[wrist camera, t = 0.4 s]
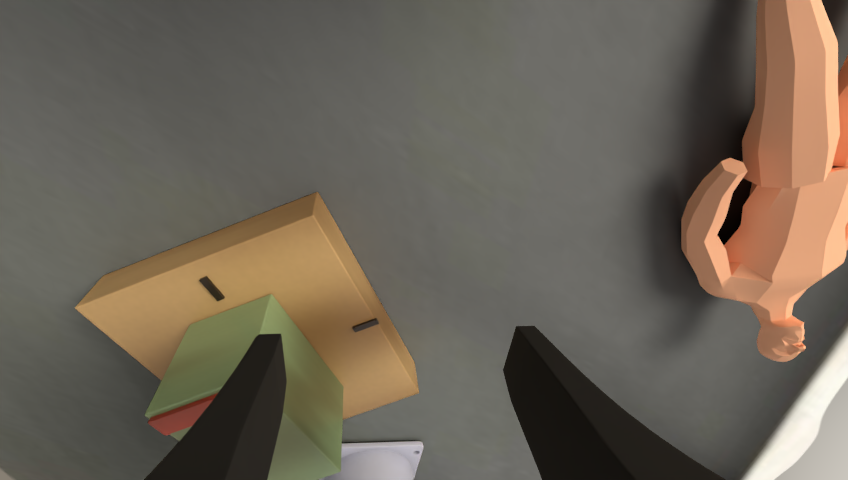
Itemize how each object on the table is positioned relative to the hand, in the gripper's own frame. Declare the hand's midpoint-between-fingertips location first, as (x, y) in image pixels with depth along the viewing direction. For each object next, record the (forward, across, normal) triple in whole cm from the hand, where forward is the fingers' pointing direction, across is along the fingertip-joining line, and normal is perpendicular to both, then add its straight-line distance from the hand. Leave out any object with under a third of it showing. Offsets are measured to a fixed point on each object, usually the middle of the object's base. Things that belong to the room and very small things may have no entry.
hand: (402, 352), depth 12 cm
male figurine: (+10, -21, -4) cm, 24 cm away
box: (+7, +6, +8) cm, 12 cm away
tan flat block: (+10, +6, +8) cm, 14 cm away
